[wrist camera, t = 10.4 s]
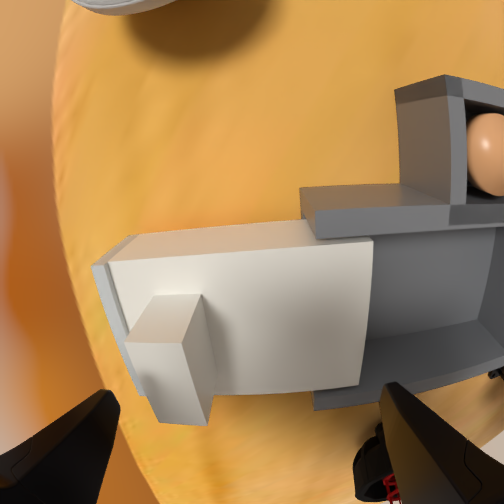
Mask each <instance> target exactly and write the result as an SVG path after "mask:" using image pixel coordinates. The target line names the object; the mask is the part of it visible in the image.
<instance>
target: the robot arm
mask: <svg viewBox="0 0 504 504" xmlns="http://www.w3.org/2000/svg"><path fill="white" fill-rule="evenodd" d="M488 376H489V378H490V379H493V378H495V377H498V376H501V378H502V379H503V380H504V366H502V367H500V368H497V369H495V370H492V371H490V373H489V375H488ZM379 405H380V411H381V417H382V423H383V428H384V435H385V441H386V446H387V450H388V453H389V457H390V460H391V464H392V467H393V471H394V475H395V478H396V482H397V486H398V490H399V494H400V498H401V502H402V504H504V465H503V464H501V463H500V462H498V461H496V460H495V459H493V458H492V457H490V456H489V455H487V454H486V453H484V452H483V451H482V450H480V449H479V448H478V447H477V446H475V445H474V444H473V443H472V442H470V441H469V440H467V439H466V438H465V437H464V436H463V435H462V434H460V433H459V432H458V431H457V430H455V429H454V428H453V427H452V426H451V425H449V424H448V423H447V422H446V421H444V420H443V419H442V418H441V417H439V416H438V415H437V414H436V413H435V412H433V411H432V410H431V409H430V408H428V407H427V406H426V405H425V404H424V403H422V402H421V401H420V400H419V399H418V398H416V397H415V396H414V395H413V394H411V393H410V392H409V391H408V390H407V389H405V388H404V387H403V386H402V385H400V384H399V383H398V382H396V381H393V382H388V383H385V384H384V385H383V388H382V392H381V396H380V401H379ZM119 416H120V405H119V403H118V401H117V399H116V397H115V396H114V394H113V392H112V391H111V390H106V389H100V390H99V391H97V392H96V393H94V394H93V395H92V396H90V397H89V398H87V399H86V400H84V401H83V402H81V403H80V404H79V405H77V406H76V407H74V408H73V409H71V410H70V411H69V412H67V413H66V414H64V415H63V416H61V417H60V418H58V419H57V420H55V421H54V422H52V423H51V424H50V425H48V426H47V427H45V428H44V429H42V430H41V431H39V432H38V433H36V434H35V435H33V437H30V438H29V439H27V440H26V441H24V442H23V443H21V444H20V445H18V446H16V447H15V448H13V449H11V450H9V451H8V452H6V453H4V454H2V455H0V504H96V503H97V499H98V496H99V492H100V488H101V485H102V482H103V478H104V475H105V471H106V468H107V464H108V461H109V458H110V455H111V451H112V448H113V445H114V440H115V435H116V430H117V425H118V421H119Z"/></svg>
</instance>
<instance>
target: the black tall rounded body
mask: <svg viewBox="0 0 504 504" xmlns="http://www.w3.org/2000/svg"><path fill="white" fill-rule="evenodd" d="M375 433H376V436H374V437H371V438H370V439H369V440H367V441H366V442H365V443H364V445H363V446H362V448H361V449H360V450H359V451H358V452H357V454H356V456H355V459H354V462H353V475H354V484H355V497H356V498H357V499H358V500H360V501H363V502H381V501H387V500H388V501H389V502H390V504H393V502H392V501H398V500H399V503H400V504H401V498H400V494H399V490H398V486H397V482H396V478H395V475H394V471H393V467H392V464H391V460H390V457H389V453H388V450H387V446H386V441H385V435H384V428H383V423H380V424H379V425H378V426H377V427H376V428H375Z"/></svg>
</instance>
